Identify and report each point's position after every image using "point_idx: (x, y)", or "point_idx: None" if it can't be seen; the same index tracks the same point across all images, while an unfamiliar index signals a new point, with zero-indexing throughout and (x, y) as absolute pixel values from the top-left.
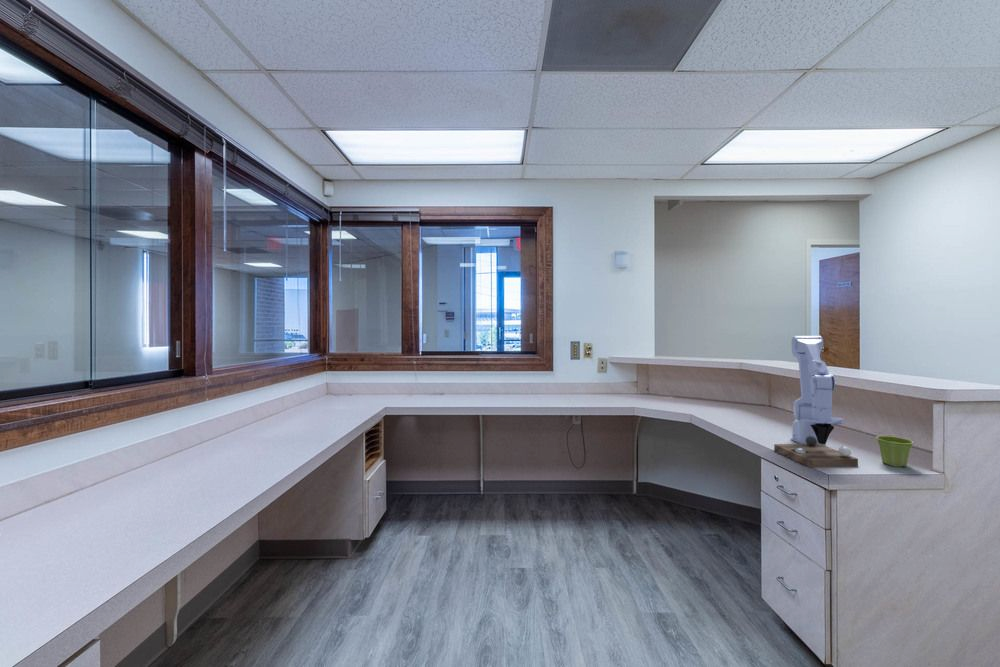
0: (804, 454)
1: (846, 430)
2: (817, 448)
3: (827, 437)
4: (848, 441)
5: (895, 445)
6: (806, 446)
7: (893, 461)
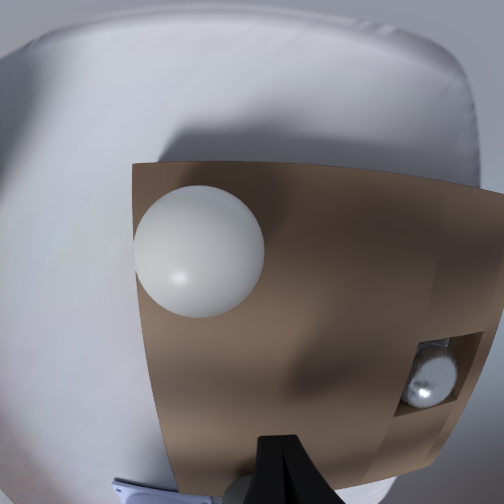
0: (474, 310)
1: (11, 495)
2: None
3: (257, 491)
4: (21, 466)
5: None
6: None
7: None
